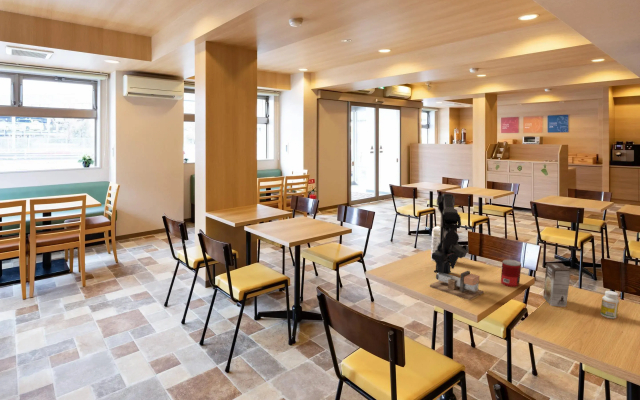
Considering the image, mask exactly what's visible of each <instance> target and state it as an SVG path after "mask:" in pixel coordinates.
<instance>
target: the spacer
mask: <svg viewBox="0 0 640 400" xmlns="http://www.w3.org/2000/svg"><path fill="white" fill-rule="evenodd" d="M464 283H465V284H468V285H472V286H473V285H475V284H477V283H478V284H479V283H480V275H479V274H478V275H477V274H474V273H470V274H469V275H467V276H464Z"/></svg>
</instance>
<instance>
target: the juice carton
mask: <svg viewBox="0 0 640 400" xmlns="http://www.w3.org/2000/svg"><path fill="white" fill-rule="evenodd" d="M439 243H440V226H439V225H436V226H434V227H432V232H431V246H430V258H431V257H432V253H434V252H435V250H437V246H438V244H439ZM431 261H432V262H433V261H434V262H435V260H433V259H432V258H431Z"/></svg>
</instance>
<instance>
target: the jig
mask: <svg viewBox="0 0 640 400" xmlns="http://www.w3.org/2000/svg"><path fill="white" fill-rule="evenodd" d="M469 274H471V271H470V270H466V271H464V272H462V273H460V278H461V279H460V287H458V286H455V281H454V280H451V279H448V283H445V282H442V281H439V280H437V281H436V282H433V283H431V284H429V287H430V288H432V289H435V290H438V291H441V292H444V293H447V294H449V295H453V296H456V297H458V298H462V299H464V300H468V301H471V300H473V299H475V298H477V297H478V296H481V295H483V294H484V290H481V289H479V288H478V290H477V291H475V292H474V291H471V290H467V289H464V276H467V275H469Z"/></svg>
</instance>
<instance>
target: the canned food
mask: <svg viewBox="0 0 640 400" xmlns="http://www.w3.org/2000/svg"><path fill="white" fill-rule="evenodd" d="M501 263H502V264H501V275H500V283H501V284H502V285H503V286H506V287H510V288H516V287H519V286H520V279H521V269H522V263H521V261H518V260H514V259H503V260H502V262H501Z"/></svg>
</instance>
